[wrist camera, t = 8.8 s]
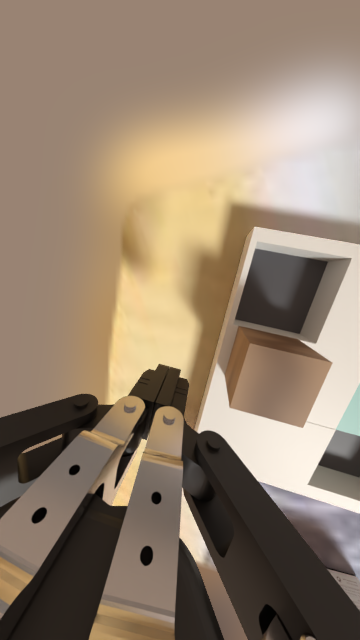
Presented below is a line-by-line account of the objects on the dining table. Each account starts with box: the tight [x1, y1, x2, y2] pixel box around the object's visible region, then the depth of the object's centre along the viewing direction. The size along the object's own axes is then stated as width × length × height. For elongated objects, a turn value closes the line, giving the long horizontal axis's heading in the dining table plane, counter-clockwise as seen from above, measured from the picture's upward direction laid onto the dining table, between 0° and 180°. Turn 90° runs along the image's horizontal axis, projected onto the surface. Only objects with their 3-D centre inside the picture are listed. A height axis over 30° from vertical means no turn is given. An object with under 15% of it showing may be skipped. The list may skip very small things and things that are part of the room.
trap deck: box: [194, 227, 360, 513], centre depth 17 cm, size 20×24×3 cm
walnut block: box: [225, 326, 332, 428], centre depth 14 cm, size 5×5×4 cm
